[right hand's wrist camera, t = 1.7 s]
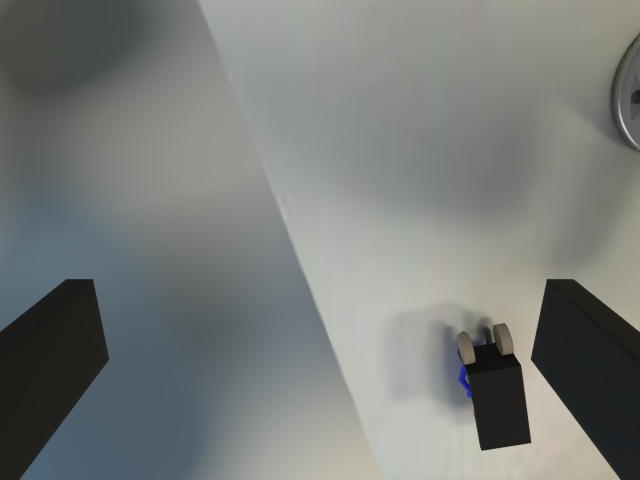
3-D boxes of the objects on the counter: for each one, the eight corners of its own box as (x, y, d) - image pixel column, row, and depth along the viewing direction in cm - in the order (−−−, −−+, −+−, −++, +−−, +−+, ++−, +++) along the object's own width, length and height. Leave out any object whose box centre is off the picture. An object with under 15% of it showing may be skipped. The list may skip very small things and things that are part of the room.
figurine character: (442, 319, 56) (464, 417, 60) (458, 347, 49) (482, 457, 52) (494, 307, 56) (513, 406, 59) (518, 334, 48) (538, 446, 52)
